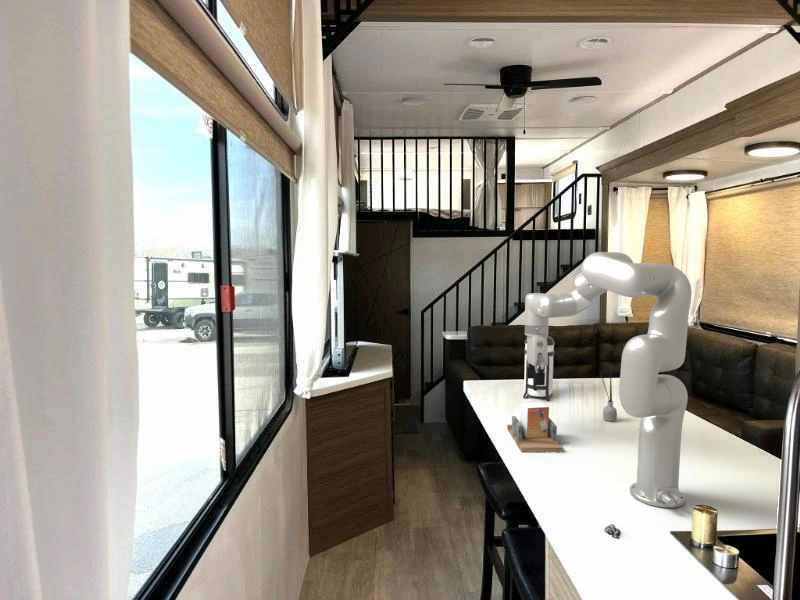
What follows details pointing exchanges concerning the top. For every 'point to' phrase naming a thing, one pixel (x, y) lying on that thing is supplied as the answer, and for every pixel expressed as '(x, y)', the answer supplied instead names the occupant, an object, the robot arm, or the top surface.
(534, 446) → the holder stand
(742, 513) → the top surface
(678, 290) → the robot arm
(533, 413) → the small box
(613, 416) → the reed diffuser
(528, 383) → the coffee press
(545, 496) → the top surface
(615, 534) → the blueberries
